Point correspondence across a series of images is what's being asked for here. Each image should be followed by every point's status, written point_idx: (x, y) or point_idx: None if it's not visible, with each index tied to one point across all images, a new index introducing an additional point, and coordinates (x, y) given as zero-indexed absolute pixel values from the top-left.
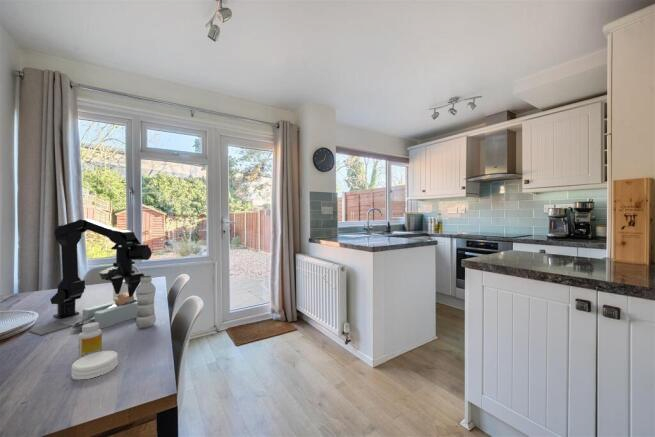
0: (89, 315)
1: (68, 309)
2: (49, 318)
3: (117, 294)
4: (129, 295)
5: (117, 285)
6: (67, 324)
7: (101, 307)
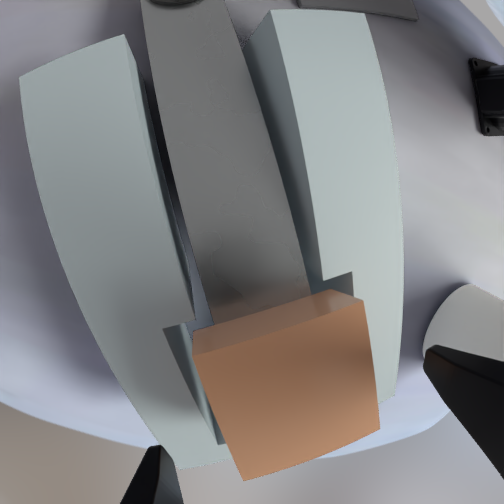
0: (257, 44)
1: (501, 82)
2: (489, 49)
3: (496, 328)
4: (142, 459)
5: (499, 417)
6: (347, 5)
7: (299, 142)
